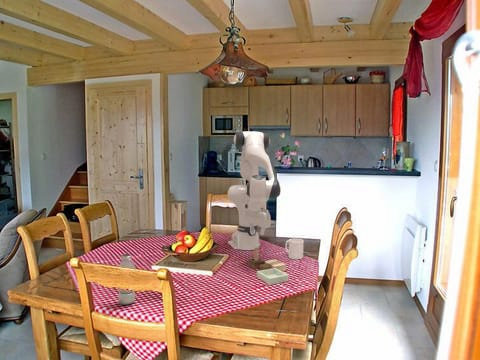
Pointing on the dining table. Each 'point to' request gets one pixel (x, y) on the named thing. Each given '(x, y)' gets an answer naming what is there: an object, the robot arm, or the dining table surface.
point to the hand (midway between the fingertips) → (257, 233)
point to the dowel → (256, 254)
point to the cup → (295, 248)
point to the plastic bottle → (126, 295)
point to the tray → (272, 276)
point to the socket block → (255, 263)
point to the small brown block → (264, 267)
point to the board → (276, 264)
